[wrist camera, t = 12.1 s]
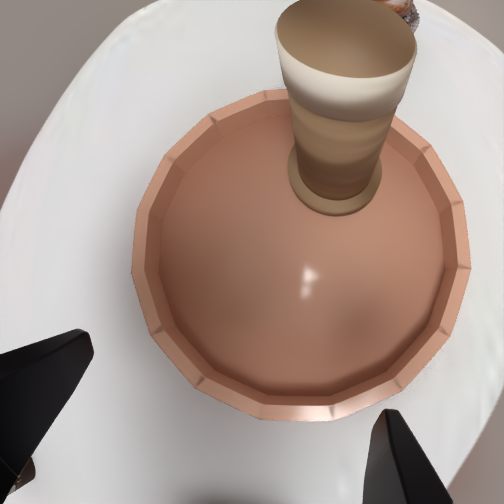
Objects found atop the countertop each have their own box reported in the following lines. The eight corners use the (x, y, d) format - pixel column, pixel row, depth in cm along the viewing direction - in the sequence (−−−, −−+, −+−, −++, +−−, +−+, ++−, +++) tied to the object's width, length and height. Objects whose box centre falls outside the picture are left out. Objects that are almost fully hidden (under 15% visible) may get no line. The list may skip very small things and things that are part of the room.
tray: (448, 396, 18) (466, 406, 15) (150, 392, 22) (130, 401, 19) (425, 113, 22) (435, 93, 19) (168, 125, 26) (153, 106, 23)
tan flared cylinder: (346, 235, 20) (387, 126, 8) (270, 181, 22) (220, 43, 9) (394, 166, 20) (454, 31, 8) (322, 120, 22) (317, -27, 10)
